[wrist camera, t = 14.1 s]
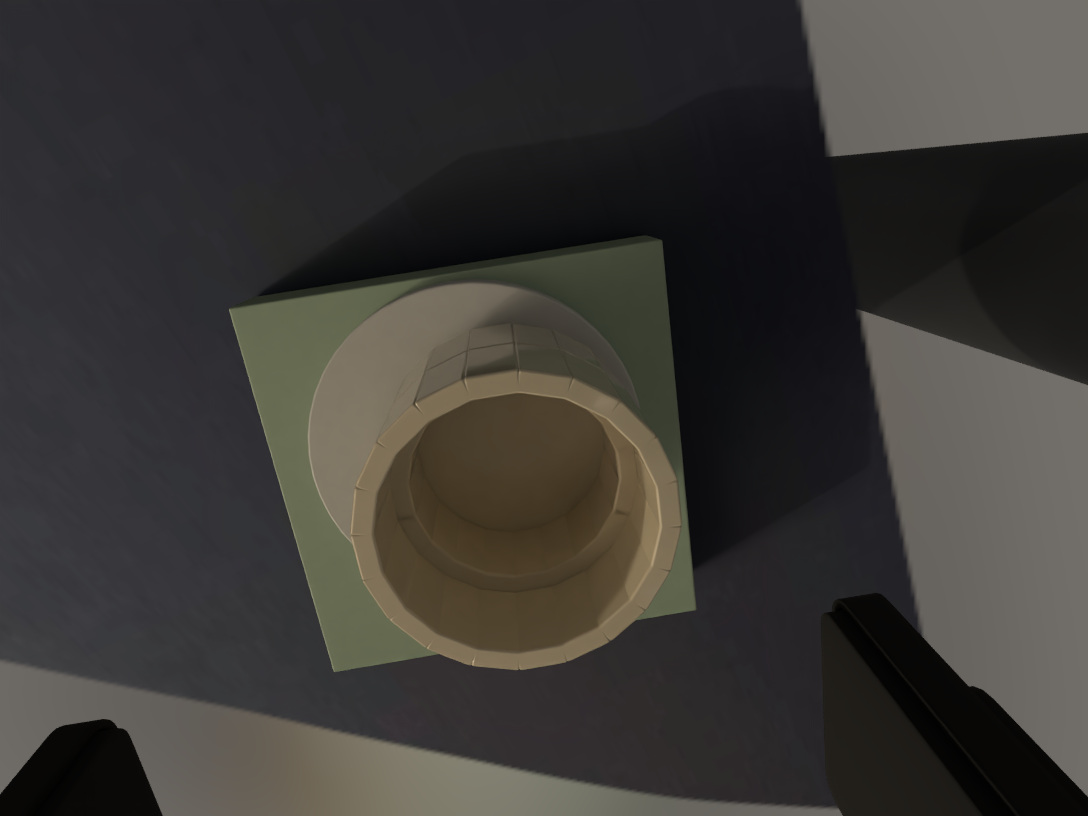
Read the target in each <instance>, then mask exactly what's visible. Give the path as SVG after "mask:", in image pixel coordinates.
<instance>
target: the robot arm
mask: <svg viewBox="0 0 1088 816" xmlns="http://www.w3.org/2000/svg"><path fill="white" fill-rule="evenodd" d="M821 643H822V676H823V709H824V742H825V770H826V776H827V781H828V784H829V788H830V791H831V793H832V796H833V798H834V800H835V802H836V804H837V806H838V808H839V810H840V811H841V813H842V815H843V816H1088V797H1087V796H1086V795H1085V794H1084V793H1083V791H1082V790H1081V789H1079V787H1078V786H1077V785H1076V784H1075V783H1074V782H1073V781H1072V780H1071V779H1070V778H1069V777H1068V776H1067V775H1066V774H1065V773H1064V772H1063V771H1062V770H1061V769H1060V768H1059V767H1058V765H1057V764H1056V763H1055V762H1054V761H1053V760H1052V759H1051V758H1050V757H1049V756H1048V755H1047V754H1046V753H1045V752H1044V751H1043V750H1042V749H1041V748H1040V747H1039V746H1038V745H1037V744H1036V743H1035V742H1034V741H1033V740H1032V738H1031V737H1030V736H1029V735H1028V734H1026V732H1025V731H1024V730H1023V729H1022V728H1021V727H1020V726H1019V725H1018V724H1017V723H1016V722H1015V721H1014V720H1013V719H1012V718H1011V717H1010V716H1009V715H1008V714H1007V712H1006V711H1005V710H1004V709H1003V708H1002V707H1001V706H1000V705H999V704H998V703H997V702H996V701H995V700H994V699H993V698H992V697H991V696H989V695H988V694H987V693H986V692H985V691H983V690H982V689H979V688H976V687H974V686H971V687H969V686H968V685H967V684H966V683H965V682H964V681H963V680H962V679H961V678H960V677H959V676H958V675H957V674H956V672H954V670H953V669H952V668H951V667H950V666H949V665H948V664H947V663H946V662H945V661H944V660H943V659H942V658H941V657H940V655H939V654H938V653H937V652H936V651H935V650H934V649H933V648H932V647H931V646H930V645H929V644H928V643H927V641H926V640H925V639H924V638H923V637H922V636H921V635H920V634H919V633H918V632H917V631H916V630H915V629H914V628H913V627H912V625H911V624H910V623H909V622H908V621H907V620H906V619H905V618H904V617H903V616H902V615H901V614H900V613H899V612H898V611H897V609H896V608H895V607H894V606H893V605H892V604H891V603H890V602H889V601H888V600H887V599H886V598H885V597H884V596H883V595H881V594H878V593H873V594H867V595H861V596H855V597H849V598H843V599H837V600H836V601H834V603H833V606H832V612H828V613H824V614H822V617H821ZM0 816H162V813H161V811H160V808H159V806H158V803H157V801H156V798H155V796H154V794H153V791H152V789H151V787H150V784H149V781H148V779H147V777H146V774H145V772H144V769H143V767H142V764H141V762H140V760H139V757H138V755H137V752H136V750H135V747H134V745H133V743H132V740H131V738H130V736H129V734H128V732H127V731H126V730H124V729H121V728H117V726H116V725H115V723H113V722H112V721H111V720H107V719H101V720H95V721H89V722H82V723H77V724H70V725H64V726H61V727H59V728H56V729H55V730H54V731H53V732H52V733H51V734H50V735H49V736H48V737H47V738H46V740H45V741H44V742H43V743H42V745H41V746H40V747H39V748H38V749H37V750H36V752H35V753H34V754H33V755H32V756H31V758H30V759H29V760H28V761H27V763H26V764H25V765H24V766H23V767H22V769H21V770H20V771H19V772H18V773H17V775H16V776H15V777H14V778H13V779H12V781H11V782H10V783H9V784H8V786H7V787H6V788H5V789H4V790H3V792H2V793H1V794H0Z"/></svg>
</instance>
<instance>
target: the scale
mask: <svg viewBox="0 0 1088 816" xmlns="http://www.w3.org/2000/svg"><path fill="white" fill-rule="evenodd" d="M229 311H230V314H231V318H232V321H233V325H234V328H235V331H236V335H237V338H238V342H239V345H240V349H241V352H242V356H243V359H244V363H245V366H246V369H247V373H248V376H249V380H250V383H251V387H252V390H253V394H254V397H255V401H256V404H257V408H258V411H259V414H260V418H261V421H262V425H263V428H264V432H265V435H266V439H267V442H268V446H269V449H270V452H271V456H272V459H273V463H274V466H275V470H276V473H277V477H278V480H279V484H280V487H281V490H282V494H283V497H284V501H285V504H286V508H287V511H288V515H289V518H290V522H291V525H292V528H293V532H294V535H295V539H296V542H297V546H298V549H299V553H300V556H301V560H302V563H303V566H304V570H305V573H306V577H307V580H308V584H309V587H310V591H311V594H312V598H313V601H314V605H315V608H316V611H317V615H318V618H319V622H320V625H321V629H322V632H323V636H324V639H325V643H326V646H327V649H328V653H329V656H330V660H331V663H332V667H333V670H334V672H337V671H343V670H348V669H354V668H360V667H366V666H372V665H377V664H383V663H389V662H395V661H401V660H406V659H412V658H418V657H424V656H430V655H436V654H439V653H436V652H434V651H431V650H428V649H427V647H424V646H422V645H421V644H420V643H419V642H417V641H416V640H415V639H413V638H412V637H411V636H409V635H408V634H407V633H406V632H404V631H403V630H402V629H400V628H399V627H398V626H397V625H395V624H394V623H393V622H391V621H390V619H388V618H387V617H386V615H385V614H384V612H383V611H382V609H381V608H380V606H379V605H378V603H377V602H376V600H375V599H374V597H373V596H372V595H371V593H370V592H369V590H368V589H367V587H366V586H365V584H364V583H363V579H362V578H361V574H360V571H359V567H358V563H357V559H356V555H355V552H354V548H353V544H352V540H351V533H350V528H351V517H352V507H353V496H354V488H355V486H356V482H357V479H358V477H359V475H360V473H361V471H362V468H363V466H364V464H365V462H366V460H367V457H368V455H369V453H370V451H371V449H372V446H373V444H374V442H375V440H376V438H377V435H378V433H379V431H380V429H381V427H382V425H383V422H384V420H385V418H386V416H387V414H388V411H389V409H390V407H391V405H392V403H393V401H394V399H395V397H396V395H397V392H398V390H399V388H400V386H401V384H402V382H403V380H404V379H405V378H406V376H407V375H408V374H409V373H410V372H411V371H412V370H413V369H414V368H415V367H416V366H417V364H418V363H419V362H420V361H421V360H422V359H423V358H424V357H425V356H426V355H427V354H428V353H429V352H430V351H431V350H434V348H435V347H437V346H439V345H441V344H443V343H445V342H447V341H449V340H451V339H453V338H455V337H457V336H459V335H461V334H462V333H464V332H466V331H471V330H472V329H477V328H483V327H489V326H496V325H502V324H508V323H510V324H511V325H512V324H521V325H527V326H534V327H540V328H547V329H551V330H555V331H557V332H559V333H561V334H563V335H565V336H567V337H569V338H571V339H573V340H575V341H577V342H579V343H581V344H583V345H585V346H587V347H588V348H589V349H591V350H592V351H593V352H594V353H595V354H596V355H597V356H598V357H599V358H600V359H601V360H602V361H603V362H604V363H605V364H606V365H607V366H608V367H609V368H610V369H611V370H612V371H613V372H614V373H615V374H616V376H617V377H618V379H619V380H620V382H621V383H622V385H623V386H624V388H625V389H626V391H627V392H628V394H629V395H630V396H631V398H632V399H633V401H634V402H635V404H636V405H637V407H638V408H639V410H640V411H641V413H642V414H643V416H644V417H645V419H646V420H647V422H648V423H649V425H650V426H651V427H652V429H653V430H654V432H655V433H656V435H657V436H658V438H659V440H660V442H661V444H662V446H663V448H664V451H665V453H666V455H667V457H668V459H669V461H670V463H671V465H672V467H673V469H674V472H675V474H676V476H677V480H678V485H679V495H680V505H681V515H682V525H681V526H682V529H681V533H680V537H679V541H678V545H677V550H676V554H675V558H674V562H673V566H672V569H671V570H670V574H669V575H668V577H667V578H666V580H665V582H664V583H663V585H662V586H661V588H660V590H659V591H658V593H657V594H656V596H655V598H654V599H653V601H652V602H651V604H650V606H649V607H648V609H645V612H644V613H643V614H642V615H641V616H639V617H638V618H637V619H636V620H639V619H645V618H651V617H656V616H662V615H668V614H674V613H680V612H685V611H691V610H696V599H695V588H694V577H693V566H692V556H691V545H690V534H689V523H688V513H687V502H686V491H685V481H684V470H683V459H682V448H681V438H680V427H679V416H678V405H677V395H676V384H675V373H674V362H673V352H672V341H671V330H670V320H669V309H668V298H667V287H666V277H665V266H664V255H663V244H662V240H660V239H657V238H653V237H650V236H647V235H644V236H637V237H631V238H625V239H618V240H612V241H606V242H599V243H593V244H587V245H580V246H574V247H568V248H561V249H555V250H549V251H542V252H536V253H530V254H523V255H517V256H511V257H504V258H498V259H492V260H485V261H479V262H473V263H467V264H460V265H454V266H448V267H441V268H435V269H429V270H422V271H416V272H410V273H403V274H397V275H391V276H384V277H378V278H372V279H365V280H359V281H353V282H346V283H340V284H334V285H327V286H321V287H315V288H309V289H302V290H296V291H290V292H283V293H277V294H271V295H264V296H258V297H253V298H250V299H248V300H246V301H244V302H242V303H240V304H237V305H235V306H233V307H231V308H229Z"/></svg>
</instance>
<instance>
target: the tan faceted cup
mask: <svg viewBox="0 0 1088 816" xmlns="http://www.w3.org/2000/svg"><path fill="white" fill-rule="evenodd" d="M681 525H682V515H681V505H680V495H679V485H678V480H677V476H676V474H675V472H674V469H673V467H672V465H671V463H670V461H669V459H668V457H667V455H666V453H665V451H664V448H663V446H662V444H661V442H660V440H659V438H658V436H657V435H656V433H655V432H654V430H653V429H652V427H651V426H650V425H649V423H648V422H647V420H646V419H645V417H644V416H643V414H642V413H641V411H640V410H639V408H638V407H637V405H636V404H635V402H634V401H633V399H632V398H631V396H630V395H629V394H628V392H627V391H626V389H625V388H624V386H623V385H622V383H621V382H620V380H619V379H618V377H617V376H616V374H615V373H614V372H613V371H612V370H611V369H610V368H609V367H608V366H607V365H606V364H605V363H604V362H603V361H602V360H601V359H600V358H599V357H598V356H597V355H596V354H595V353H594V352H593V351H592V350H591V349H589V348H588V347H587V346H585V345H583V344H581V343H579V342H577V341H575V340H573V339H571V338H569V337H567V336H565V335H563V334H561V333H559V332H557V331H555V330H551V329H547V328H540V327H534V326H527V325H521V324H512V325H511V324H510V323H508V324H502V325H496V326H489V327H483V328H477V329H472V330H471V331H466V332H464V333H462V334H461V335H459V336H457V337H455V338H453V339H451V340H449V341H447V342H445V343H443V344H441V345H439V346H437V347H435V348H434V350H431V351H430V352H429V353H428V354H427V355H426V356H425V357H424V358H423V359H422V360H421V361H420V362H419V363H418V364H417V366H416V367H415V368H414V369H413V370H412V371H411V372H410V373H409V374H408V375H407V376H406V378H405V379H404V380H403V382H402V384H401V386H400V388H399V390H398V392H397V395H396V397H395V399H394V401H393V403H392V405H391V407H390V409H389V411H388V414H387V416H386V418H385V420H384V422H383V425H382V427H381V429H380V431H379V433H378V435H377V438H376V440H375V442H374V444H373V446H372V449H371V451H370V453H369V455H368V457H367V460H366V462H365V464H364V466H363V468H362V471H361V473H360V475H359V477H358V479H357V482H356V486H355V488H354V496H353V507H352V517H351V528H350V533H351V540H352V544H353V548H354V552H355V555H356V559H357V563H358V567H359V571H360V574H361V578H362V579H363V583H364V584H365V586H366V587H367V589H368V590H369V592H370V593H371V595H372V596H373V597H374V599H375V600H376V602H377V603H378V605H379V606H380V608H381V609H382V611H383V612H384V614H385V615H386V617H387V618H388V619H390V621H391V622H393V623H394V624H395V625H397V626H398V627H399V628H400V629H402V630H403V631H404V632H406V633H407V634H408V635H409V636H411V637H412V638H413V639H415V640H416V641H417V642H419V643H420V644H421V645H422V646H424V647H427V649H428V650H431V651H434V652H436V653H439V654H441V655H444V656H447V657H449V658H452V659H454V660H457V661H460V662H462V663H465V664H467V665H471V664H472V665H473V666H479V667H490V668H501V669H512V670H519V669H520V670H525V669H530V668H536V667H542V666H547V665H553V664H559V663H565V662H566V661H570V660H572V659H574V658H577V657H579V656H581V655H583V654H585V653H587V652H589V651H591V650H594V649H596V648H598V647H600V646H602V645H604V644H606V643H608V642H609V641H610V640H613V639H614V638H615V637H616V636H618V635H619V634H620V633H621V632H622V631H623V630H624V629H626V628H627V627H628V626H629V625H630V624H631V623H633V622H634V621H635V620H636V619H637V618H638V617H639V616H641V615H642V614H643V613H644V612H645V609H648V607H649V606H650V604H651V602H652V601H653V599H654V598H655V596H656V594H657V593H658V591H659V590H660V588H661V586H662V585H663V583H664V582H665V580H666V578H667V577H668V575H669V574H670V570H671V569H672V566H673V562H674V558H675V554H676V550H677V545H678V541H679V537H680V533H681V529H682V526H681Z"/></svg>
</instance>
